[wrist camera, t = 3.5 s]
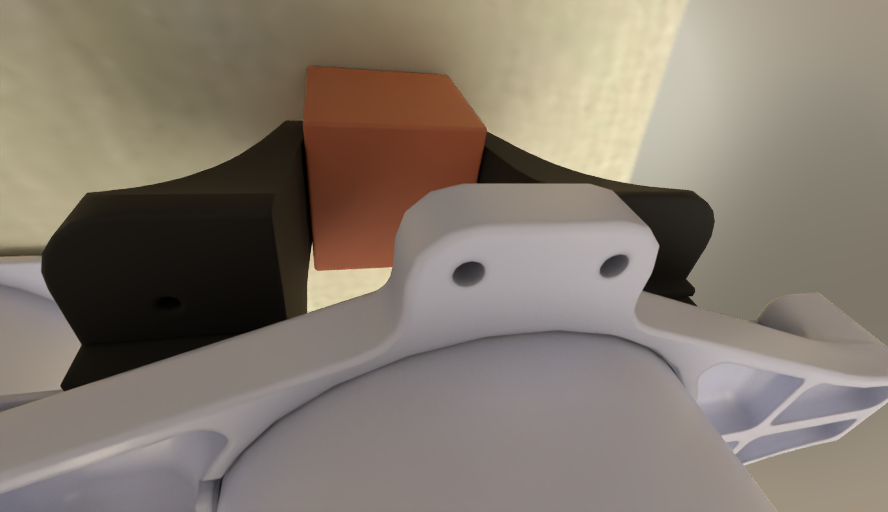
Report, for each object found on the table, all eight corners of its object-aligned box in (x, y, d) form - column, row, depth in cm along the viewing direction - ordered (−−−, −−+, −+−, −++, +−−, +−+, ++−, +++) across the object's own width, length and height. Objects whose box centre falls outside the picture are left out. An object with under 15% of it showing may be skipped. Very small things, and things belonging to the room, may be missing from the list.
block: (433, 192, 15) (462, 265, 12) (315, 193, 14) (314, 272, 11) (448, 74, 13) (488, 129, 10) (306, 64, 12) (302, 122, 9)
